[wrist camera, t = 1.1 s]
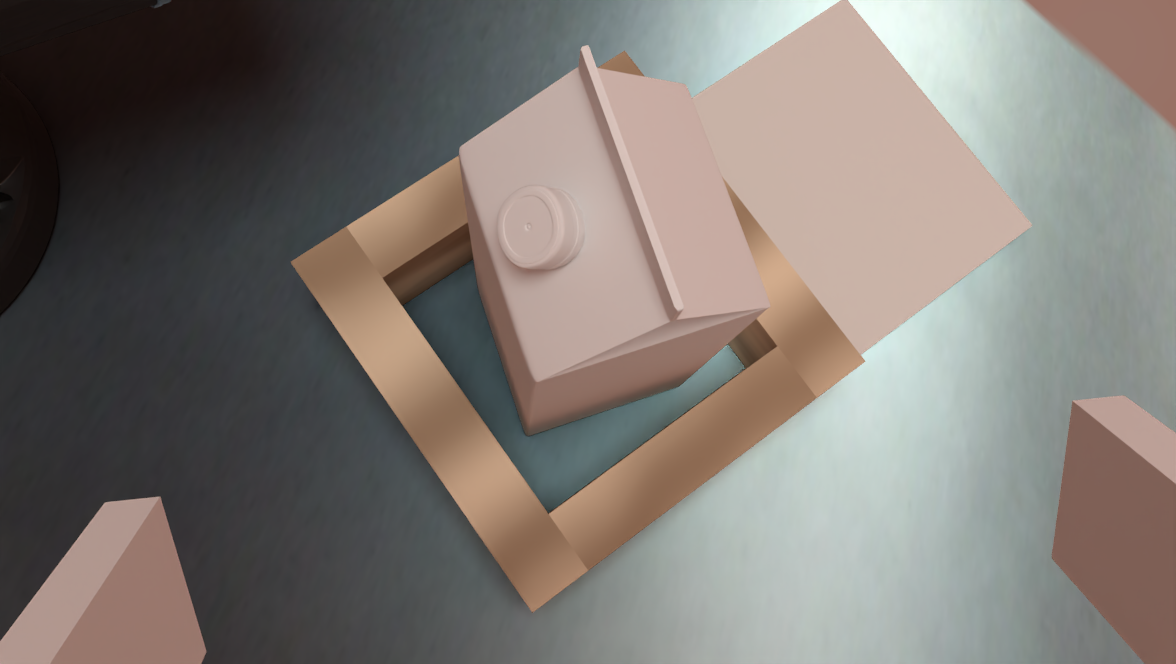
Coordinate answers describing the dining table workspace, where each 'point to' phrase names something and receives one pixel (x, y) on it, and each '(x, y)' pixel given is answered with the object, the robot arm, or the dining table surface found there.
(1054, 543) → the robot arm
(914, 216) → the pink mat
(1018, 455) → the dining table surface
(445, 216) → the frame
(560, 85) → the milk carton
